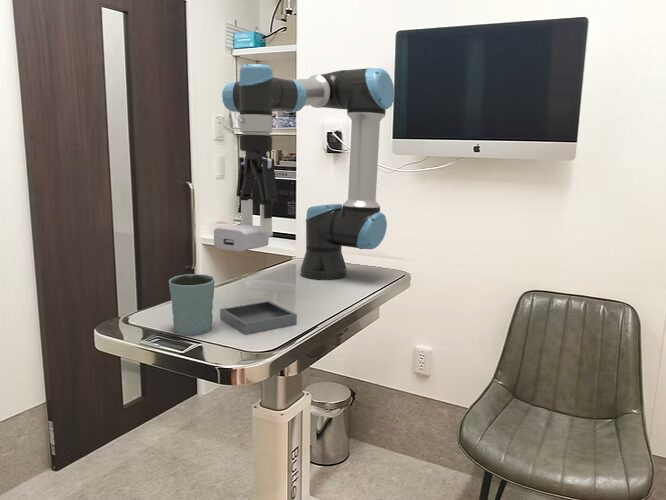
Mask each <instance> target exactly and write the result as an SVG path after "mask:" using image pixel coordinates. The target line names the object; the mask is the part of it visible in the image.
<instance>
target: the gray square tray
mask: <svg viewBox="0 0 666 500" xmlns="http://www.w3.org/2000/svg"><path fill="white" fill-rule="evenodd" d="M219 314H220V315H219V316H220V317H219V318H220V320H221V321H223V322H224V323H225V324H228V325H229V326H231V327H232V328H233V329H236V331H238V332H240V333H241V334H244V336H245V335H251V334H256V333H260V332H261V333H262V332H266V331H271V330H277V329H280V328H286V327H290V326H291V327H292V326H295V325H297V324H298V323H297V322H298V321H297V316H298V314H296V313H294V312H292V311H290V310H288V309H287V308H285V307H282V306H281V305H278V304H276V303H274V302H272V301H271V300H265V301H260V302H255V303H250V304H249V303H247V304H242V305H236V306H231V307H225V308H224V307H223V308H220V309H219Z"/></svg>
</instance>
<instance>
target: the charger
mask: <svg viewBox="0 0 666 500" xmlns="http://www.w3.org/2000/svg"><path fill="white" fill-rule="evenodd" d="M273 236H274V231H272V232H265V233H261V232H260V225H254V224H253V225H245V224H242V225H241V224H237V225H229V226H223V227H218V228H217V227H216V228H215V229H214V230H213V246H214V247H215V248H217V249H220V250H228V251H234V252H244V251H249V250H253V249H258V248H263V247H267V246H268V245H269V239H270V238H272V237H273Z"/></svg>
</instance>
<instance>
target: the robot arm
mask: <svg viewBox="0 0 666 500" xmlns="http://www.w3.org/2000/svg"><path fill="white" fill-rule="evenodd" d="M221 99H222V103H223V106H224V107H225V109H227V110H228V111H230V112H232V113H233V112H234V113H235V112H237V113H239V119H238V123H239V132H241V133H242V134H240V136H239V150H240V151H242V152H245V154H244V157H243V156H241V157H240V156H239V157H238V165H239V166H238V175H237V176H238V177H237V186H236V197H238V198H239V200H240V206H241V207H240V208H241V209H240V217H241V218H240V219H241V221H240V223H241V224H240V225H242V224H245V225H253V226H254V224H253V223H254V222H253V218H254V217H253V216H254V215H253V199H254V197H253V195H252V193H253V189H254V185H255V182H257V186H258V190H259V195H260V200H261V201H260V202H259V226H260V232H261V233H265V232H273V205H274V203H277V202H278V200H279V199H278V197H279V196H278V191H277V183H276V182H277V181H276V174H275V173H276V172H275V163H276V161H275V159H274V158H268V155H267V154H268V153H267V152H269V153H270V152H272V150H273V137H272V135H271V134H272V133H273V112H286V113H293V112H294V113H295V112H296V113H297V112H299V111H302V109H303V108H304V107H308V106H310V107H312V108H316V109H319V108H325V109H326V108H327V109H334V110H335V109H336V110H347V111H346V115H347V116H348V117H349V119H350V120H351V127H350V128H351V129H350V145H349V147H350V149H349V169H348V170H349V171H348V192H347V200H346V201H345V202H344V203H343V204H341V203H335V204H334V203H333V204H321V205H313V206H312V205H311V206H310V207H308V208H307V210H306V217H305V218H306V219H305V226H306V227H305V232H306V233H305V239H306V241H305V245H306V246H305V253H304V257H303V260H302V262H301V263H302V264H301V265H300V275H301V276H302V277H304V278H307V279H313V280H335V279H342V278H344V277H346V276H347V266H346V262H345V259H344V256H343V253H342V252H343V251H342V247H345V248H346V247H348V248H355V249H359V250H374V249H376V248H377V247H379V246H380V244H381V243H382V242H383V241H384V238H385V235H386V232H387V227H388V220H387V217H386V215H385V214H384V213H383V212H381V205H380V204H379V203H378V202H377V183H378V167H379V166H378V163H379V161H378V160H379V145H380V143H379V142H380V129H381V121H382V120H383V119H384V118H385V117H386V113H387V112H386V110H388V109H390V108H392V106H393V103H394V100H395V87H394V82H393V80H392V77H391V75H390V74H389V73H388V72H387V70H385V69H384V68H379V67H378V68H377V67H374V68H373V67H368V68H367V67H366V68H357V69H356V68H355V69H342V70H341V69H340V70H336V71H332V72H327V73H322V74H314V75H310V77H309V78H299V79H296V78H295V79H284V78H279V77H274V74H273V69H272V67H271V66H270V65H268V64H260V63H249V64H243V65H242V66H241V67H240V68H239V80H238V81H233V82H230V83H227V84H225V86H224V87H223V89H222V93H221Z"/></svg>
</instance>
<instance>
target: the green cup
mask: <svg viewBox="0 0 666 500" xmlns="http://www.w3.org/2000/svg"><path fill="white" fill-rule="evenodd" d="M168 287H169V294H170V300H171V310H172V323H173V330H174V332H175V333H176V332H177V333H179V334H178V335H180V334H183V335H182V336H200V335H204V334H207V333H209V332H211V331H212V329H213V320H214V319H213V315H214V314H213V307H214V306H213V305H214V304H213V303H214V302H213V301H214V295H215V294H214V292H215V277H214V276H211V275H209V274H201V273H192V274H191V273H190V274H189V273H188V274H187V273H186V274H181V275H176V276H174V277H172V278H170V279H168ZM177 333H176V334H177Z"/></svg>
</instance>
